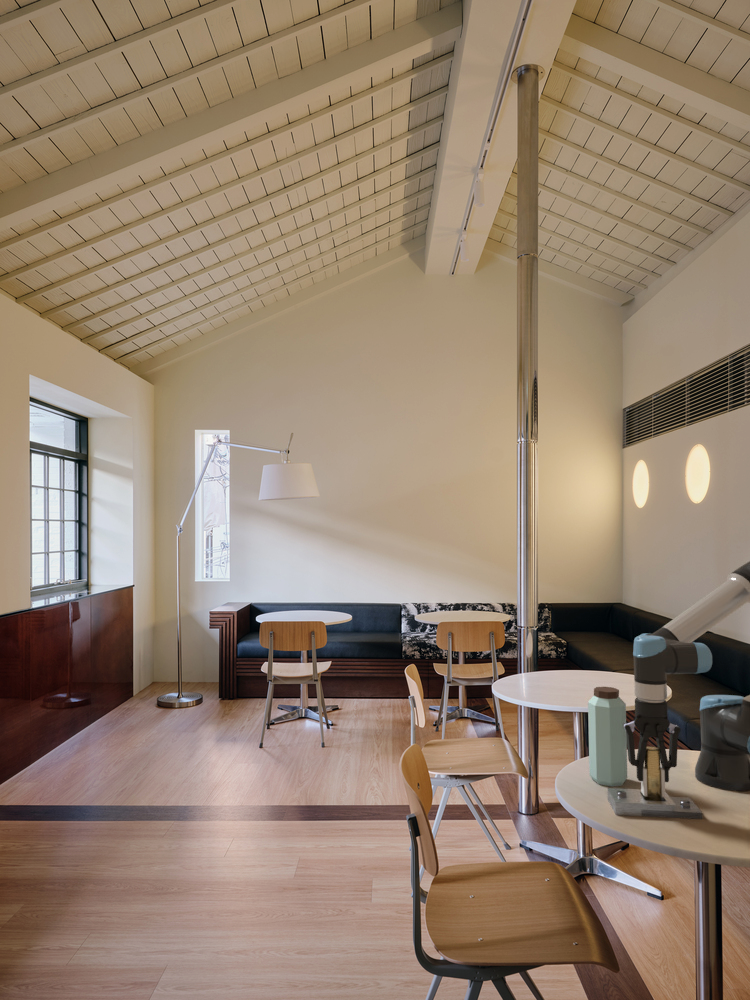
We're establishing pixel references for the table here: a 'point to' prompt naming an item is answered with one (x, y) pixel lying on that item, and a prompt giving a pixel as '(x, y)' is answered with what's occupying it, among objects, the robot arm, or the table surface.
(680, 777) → the table surface
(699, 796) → the table surface
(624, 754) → the water bottle
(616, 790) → the chain ends
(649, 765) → the pin
